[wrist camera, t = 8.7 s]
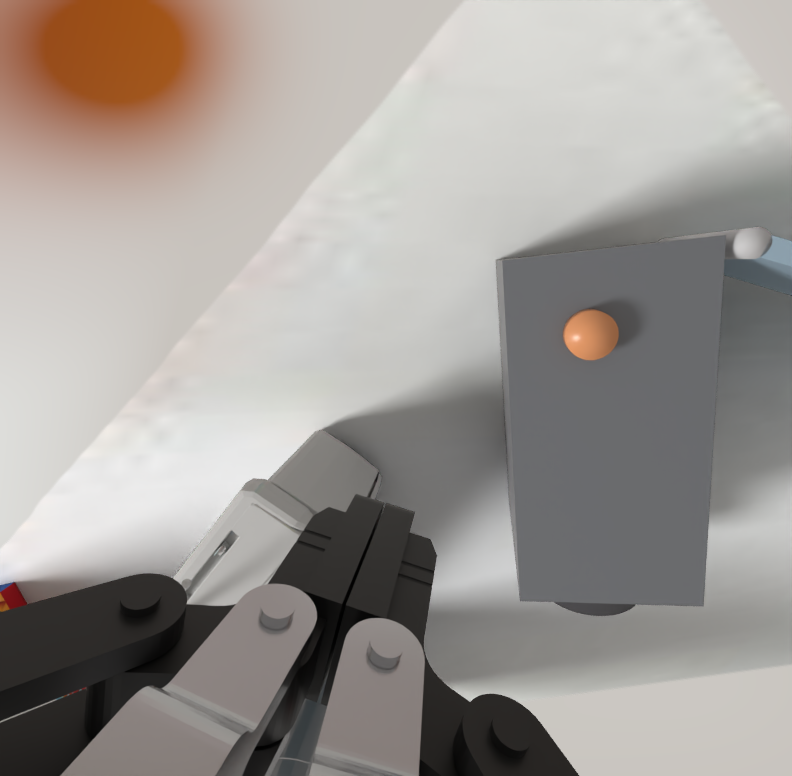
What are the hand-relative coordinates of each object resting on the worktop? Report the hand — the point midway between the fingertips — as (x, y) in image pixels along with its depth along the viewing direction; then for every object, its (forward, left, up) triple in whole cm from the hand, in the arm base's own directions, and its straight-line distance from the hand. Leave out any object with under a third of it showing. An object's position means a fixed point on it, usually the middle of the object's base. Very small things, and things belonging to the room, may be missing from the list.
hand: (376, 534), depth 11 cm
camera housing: (-5, -9, -27) cm, 29 cm away
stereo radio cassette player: (-15, +16, -27) cm, 35 cm away
